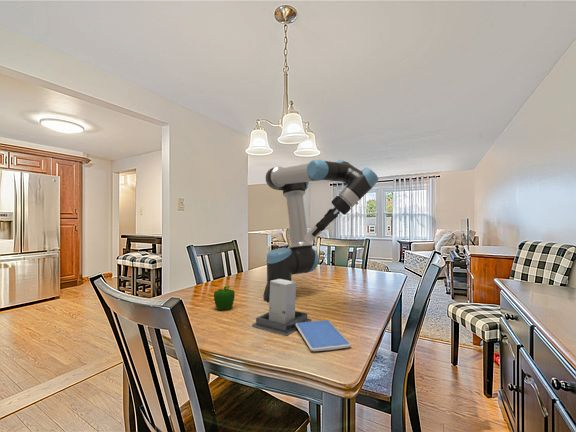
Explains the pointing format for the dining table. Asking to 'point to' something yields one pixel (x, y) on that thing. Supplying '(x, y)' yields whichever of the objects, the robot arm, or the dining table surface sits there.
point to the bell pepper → (224, 298)
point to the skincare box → (282, 300)
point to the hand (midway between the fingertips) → (306, 240)
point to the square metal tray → (278, 327)
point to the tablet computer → (322, 335)
